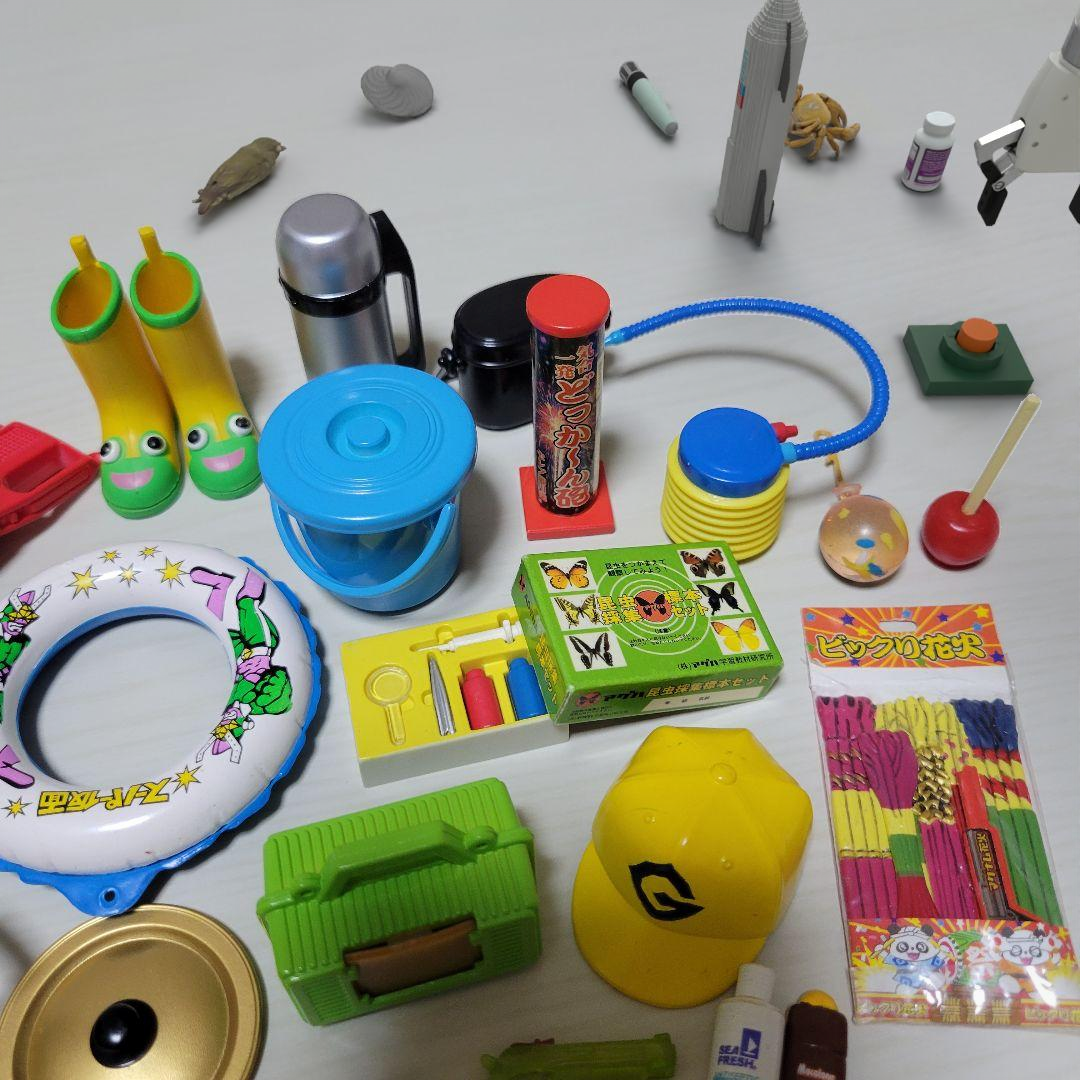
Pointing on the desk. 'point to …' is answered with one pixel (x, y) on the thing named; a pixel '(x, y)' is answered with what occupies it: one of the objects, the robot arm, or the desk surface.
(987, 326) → the press button
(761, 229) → the rocket model
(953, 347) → the button box
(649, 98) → the flashlight
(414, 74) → the seashell
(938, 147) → the pill bottle
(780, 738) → the desk surface
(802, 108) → the crab model
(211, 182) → the decorative bird model
